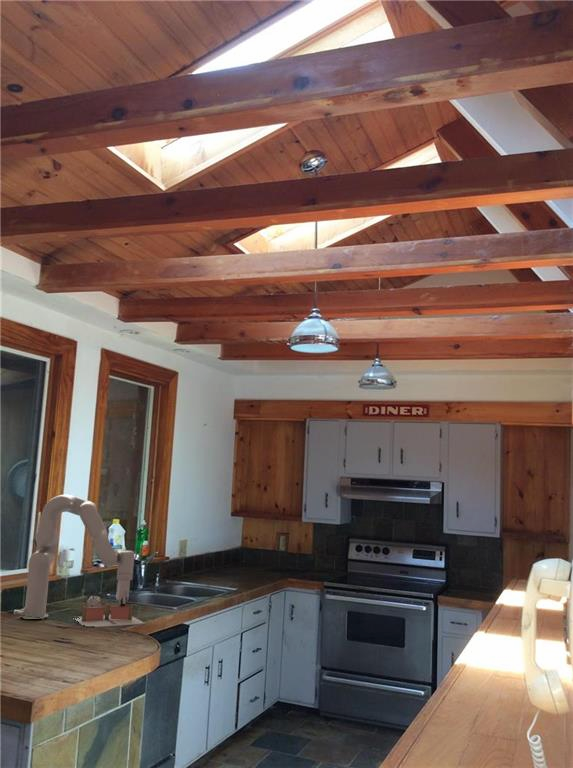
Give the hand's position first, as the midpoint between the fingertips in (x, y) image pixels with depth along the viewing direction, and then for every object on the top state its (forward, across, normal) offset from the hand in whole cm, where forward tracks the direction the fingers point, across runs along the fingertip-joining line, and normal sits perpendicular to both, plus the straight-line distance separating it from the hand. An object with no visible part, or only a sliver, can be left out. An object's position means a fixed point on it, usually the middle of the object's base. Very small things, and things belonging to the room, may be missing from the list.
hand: (121, 614), depth 325 cm
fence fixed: (+2, +2, -12) cm, 13 cm away
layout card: (+2, +3, -6) cm, 7 cm away
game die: (+3, -23, -11) cm, 25 cm away
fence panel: (+1, +4, 0) cm, 4 cm away
